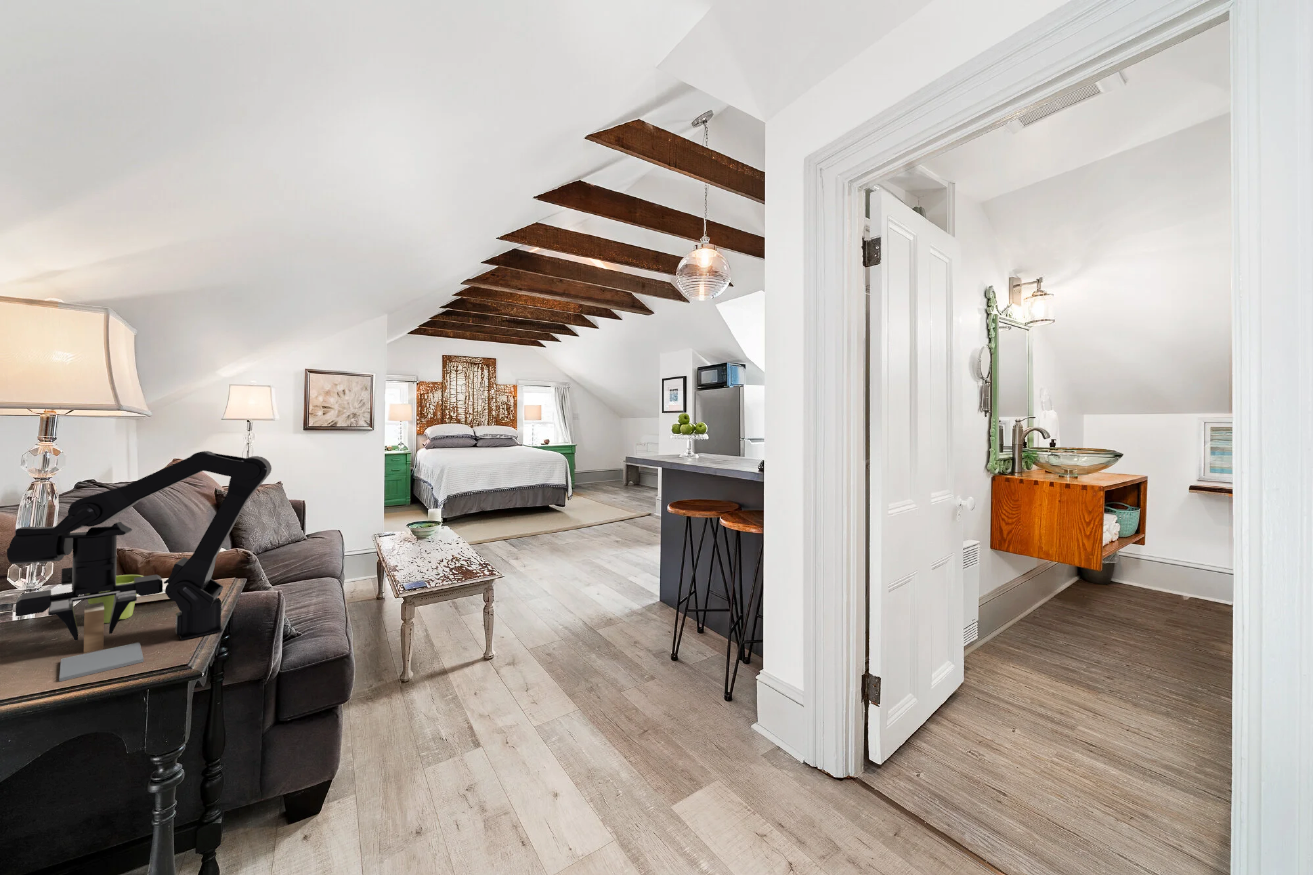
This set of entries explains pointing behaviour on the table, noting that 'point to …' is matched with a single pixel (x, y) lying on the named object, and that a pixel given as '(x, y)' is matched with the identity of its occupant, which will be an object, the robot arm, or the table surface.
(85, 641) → the slab
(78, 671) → the mat
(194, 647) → the table surface
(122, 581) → the plant pot
